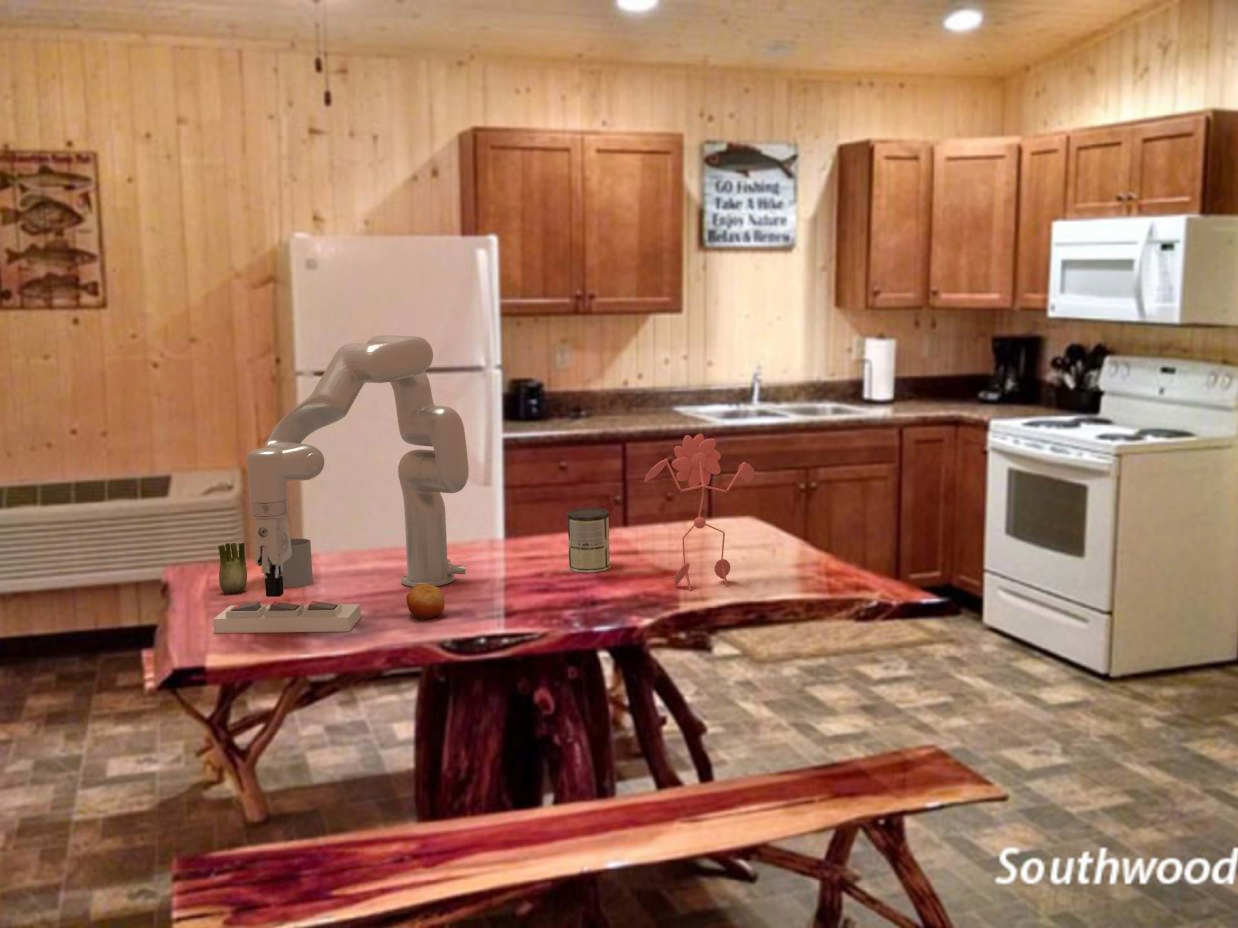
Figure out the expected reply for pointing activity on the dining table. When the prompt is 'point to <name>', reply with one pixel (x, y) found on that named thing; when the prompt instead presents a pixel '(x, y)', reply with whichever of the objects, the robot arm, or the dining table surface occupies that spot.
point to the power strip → (288, 620)
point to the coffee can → (588, 540)
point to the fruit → (425, 601)
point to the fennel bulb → (232, 568)
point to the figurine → (697, 467)
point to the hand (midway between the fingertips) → (274, 595)
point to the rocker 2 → (321, 606)
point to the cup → (298, 565)
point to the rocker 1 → (247, 607)
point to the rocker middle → (282, 606)
